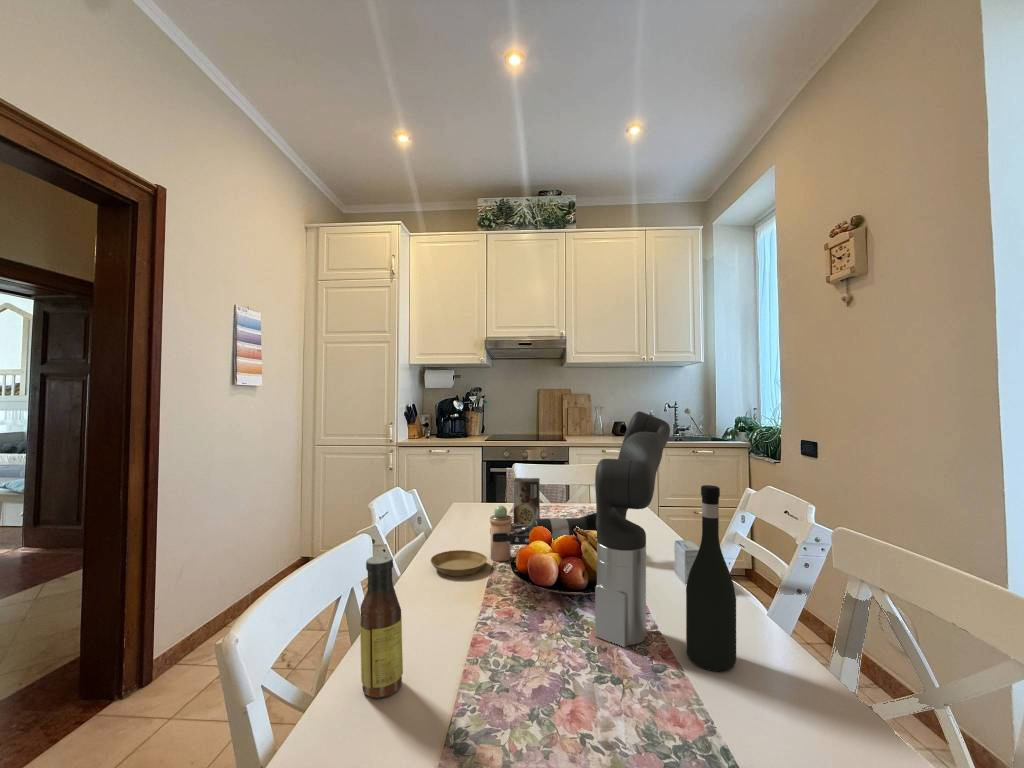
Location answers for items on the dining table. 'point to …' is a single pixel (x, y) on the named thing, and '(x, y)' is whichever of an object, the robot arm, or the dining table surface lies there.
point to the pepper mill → (500, 525)
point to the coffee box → (526, 500)
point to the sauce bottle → (381, 631)
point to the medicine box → (684, 558)
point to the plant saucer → (458, 562)
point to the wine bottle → (710, 596)
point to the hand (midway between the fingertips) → (491, 534)
